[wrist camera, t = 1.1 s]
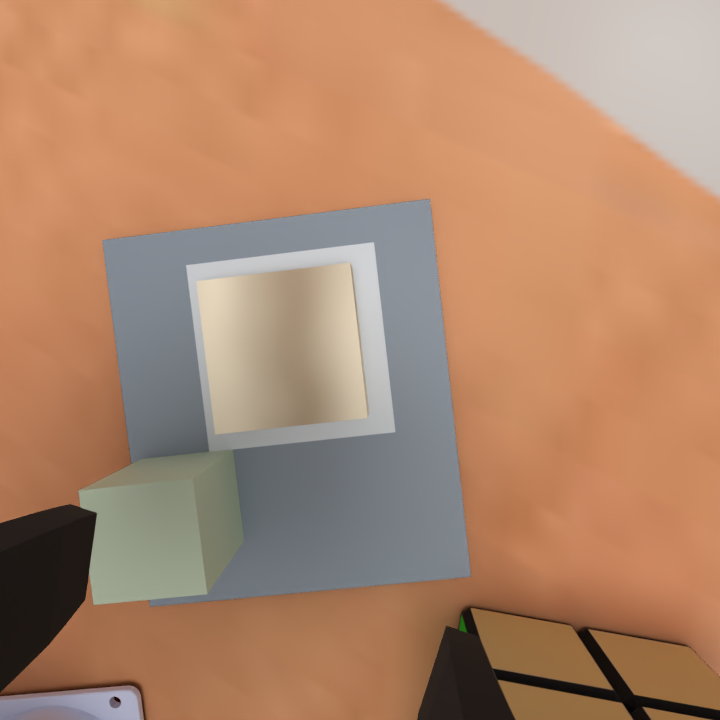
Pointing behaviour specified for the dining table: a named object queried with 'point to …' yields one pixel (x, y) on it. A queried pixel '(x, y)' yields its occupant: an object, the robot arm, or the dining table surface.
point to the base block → (283, 348)
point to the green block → (163, 527)
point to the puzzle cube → (592, 672)
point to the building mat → (314, 441)
